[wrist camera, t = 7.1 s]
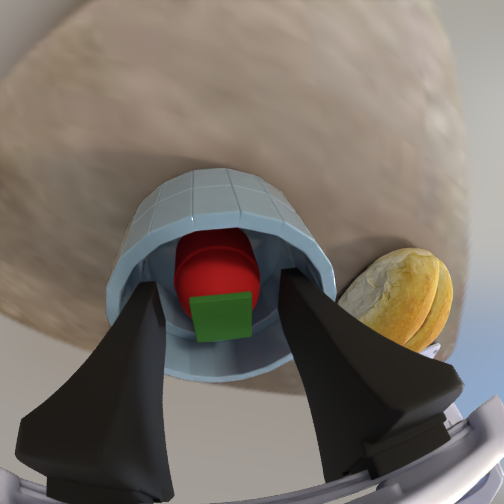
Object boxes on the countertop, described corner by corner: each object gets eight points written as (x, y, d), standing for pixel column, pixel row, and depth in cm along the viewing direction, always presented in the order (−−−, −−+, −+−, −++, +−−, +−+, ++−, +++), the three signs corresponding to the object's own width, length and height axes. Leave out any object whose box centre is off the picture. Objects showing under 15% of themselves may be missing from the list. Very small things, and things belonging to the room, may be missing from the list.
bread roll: (381, 347, 21) (402, 385, 18) (307, 321, 17) (329, 374, 14) (452, 275, 18) (483, 309, 15) (401, 218, 14) (446, 260, 11)
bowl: (290, 303, 16) (316, 367, 12) (147, 317, 15) (141, 387, 11) (305, 161, 12) (356, 205, 8) (112, 175, 11) (73, 228, 7)
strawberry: (251, 280, 14) (269, 346, 11) (181, 287, 14) (180, 356, 10) (252, 217, 12) (275, 276, 9) (170, 224, 12) (163, 287, 8)
